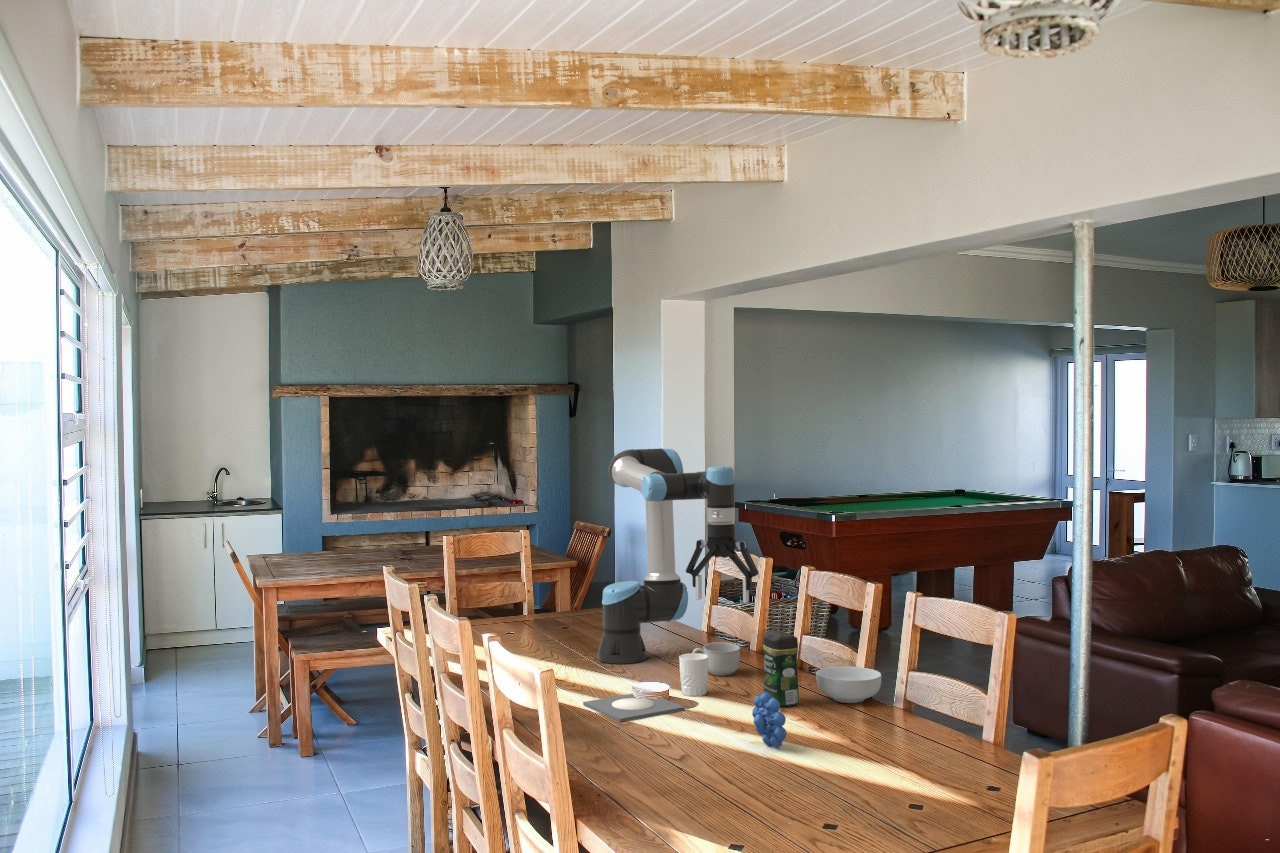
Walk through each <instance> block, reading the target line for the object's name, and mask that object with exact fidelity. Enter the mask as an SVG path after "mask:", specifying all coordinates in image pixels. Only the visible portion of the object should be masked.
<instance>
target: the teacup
mask: <svg viewBox="0 0 1280 853" xmlns="http://www.w3.org/2000/svg"><path fill="white" fill-rule="evenodd" d="M740 650H741V646H740V645H738V644H735V643H731V642H724V641H722V642H720V641H719V642H718V641H717V642H709V643H706V644H704V645H703V648H702V647H696V648H694V649H693V650H692V653H697V652H699V653H700V654H705V655H707V656H708V672H709V673H710V674H711V675H714V676H719V677H720V676H721V677H724V676H726V675H727V676H731V675H732V674H734V673H735V672H736V671H737V670H738V669H739V667H740V660H741V659H740V658H741V656H740V654H741V653H740V652H741V651H740Z"/></svg>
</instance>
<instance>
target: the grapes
mask: <svg viewBox="0 0 1280 853" xmlns="http://www.w3.org/2000/svg"><path fill="white" fill-rule="evenodd" d="M753 704H754V707H753V709H752V713H751V715H752V717H753V724H754V727H755V731H756V732H757V734H759V735H761V736H762V741H763V743H764V744H765V745H766V746H768V747H773V748H775V749H779V748H781V747H782V744H783V741H784V740H786V737H787V730H786V728H785V727H783V726H784V725H785V723H786V719H787V718H786V716H785V714H784V713H783V712H781V711H779V710H780V708H781V706H780V703H779V702H778V701H777V700H776V699H775V698H772V697H771V695H770V694H769V693H768V692H764V691H763V692H762V693H761V694H758V695H756V696H755V697H754V700H753Z"/></svg>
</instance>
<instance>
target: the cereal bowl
mask: <svg viewBox="0 0 1280 853" xmlns="http://www.w3.org/2000/svg"><path fill="white" fill-rule="evenodd" d="M815 675H816V676H815V679H816V684H817V687H818V688H819V690H820V692H822V693H823V694H824V695H826V696H828V697H830V698H832V699H833V700H834V702H835V701H836V702H839V703H844V704H858V702H859V703H862V702H864V701H865V699H869V698H872V697H873V696H875V695H876V694H877V693H878V692H879V691H880V690H881V686H882V673H881V672H879V671H878V670H876V669H872V668H868V667H867V668H866V667H861V666H860V667H859V666H832V667H831V666H830V667H825V668H821V669H819V670H817V671H816V672H815Z"/></svg>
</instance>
